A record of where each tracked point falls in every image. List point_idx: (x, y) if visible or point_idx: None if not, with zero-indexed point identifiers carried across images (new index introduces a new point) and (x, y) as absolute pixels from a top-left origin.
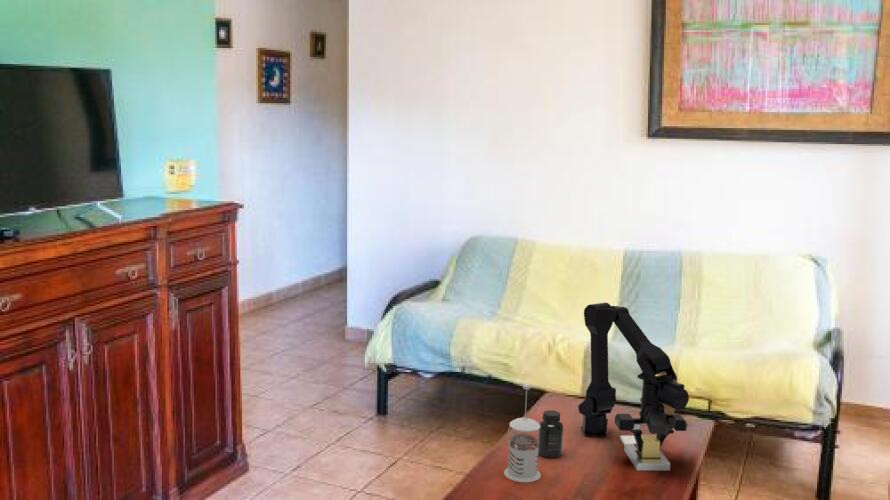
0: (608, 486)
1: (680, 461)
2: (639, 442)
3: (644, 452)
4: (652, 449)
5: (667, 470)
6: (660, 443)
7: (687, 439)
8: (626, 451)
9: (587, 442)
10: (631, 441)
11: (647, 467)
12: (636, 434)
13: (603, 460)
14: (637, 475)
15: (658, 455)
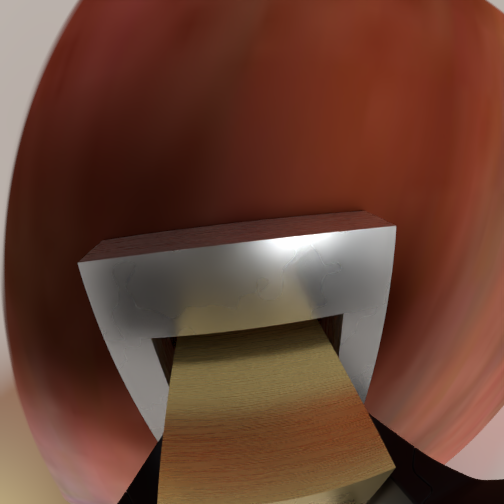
0: (496, 41)
1: (56, 368)
2: (392, 451)
3: (326, 373)
4: (247, 414)
5: (118, 238)
6: (154, 481)
7: (81, 479)
8: None
9: (428, 425)
10: None
11: (294, 224)
12: (494, 486)
13: (466, 313)
14: (379, 125)
15: (175, 371)
